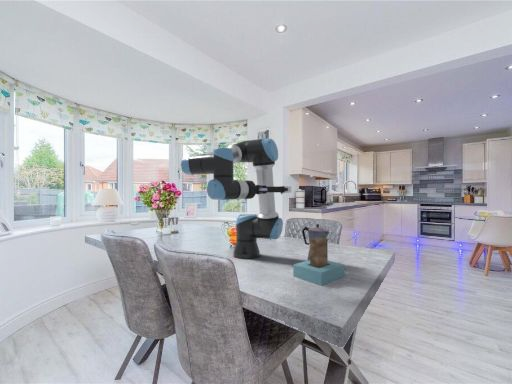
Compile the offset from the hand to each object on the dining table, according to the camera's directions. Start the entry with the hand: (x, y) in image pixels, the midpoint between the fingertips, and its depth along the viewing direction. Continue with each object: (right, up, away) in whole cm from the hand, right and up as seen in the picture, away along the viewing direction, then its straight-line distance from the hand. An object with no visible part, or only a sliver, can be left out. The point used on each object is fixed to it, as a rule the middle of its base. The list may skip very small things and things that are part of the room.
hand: (279, 189), depth 113 cm
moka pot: (+19, -38, +11) cm, 44 cm away
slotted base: (+16, -37, -9) cm, 42 cm away
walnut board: (+16, -36, -9) cm, 41 cm away
